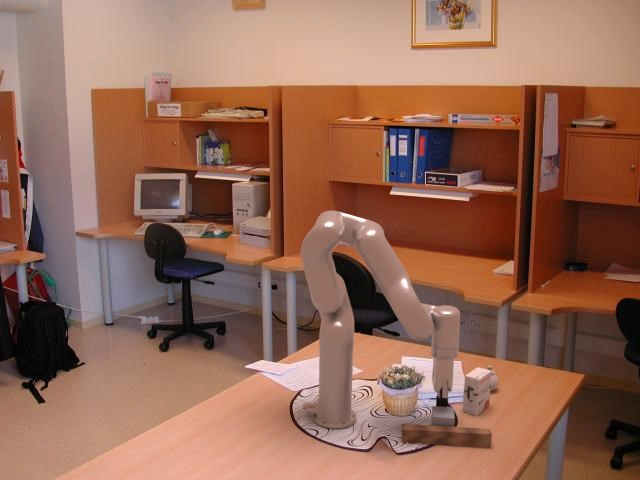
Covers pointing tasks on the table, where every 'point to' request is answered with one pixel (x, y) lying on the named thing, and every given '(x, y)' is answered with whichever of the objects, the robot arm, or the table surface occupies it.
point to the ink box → (477, 391)
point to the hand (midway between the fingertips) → (441, 409)
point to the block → (442, 416)
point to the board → (446, 435)
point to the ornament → (493, 378)
